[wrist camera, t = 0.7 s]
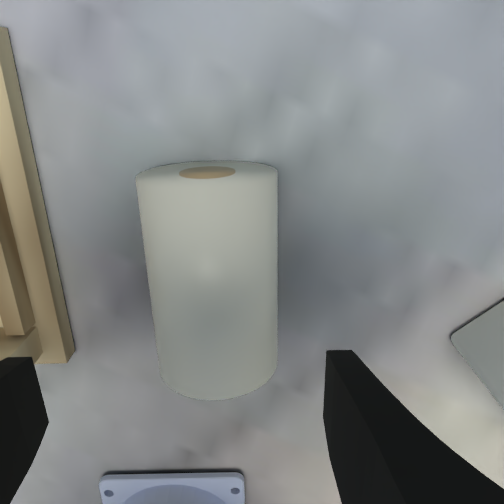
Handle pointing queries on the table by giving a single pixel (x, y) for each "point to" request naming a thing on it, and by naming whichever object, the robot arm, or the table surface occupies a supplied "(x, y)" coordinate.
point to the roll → (212, 274)
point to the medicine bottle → (485, 349)
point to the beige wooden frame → (26, 239)
